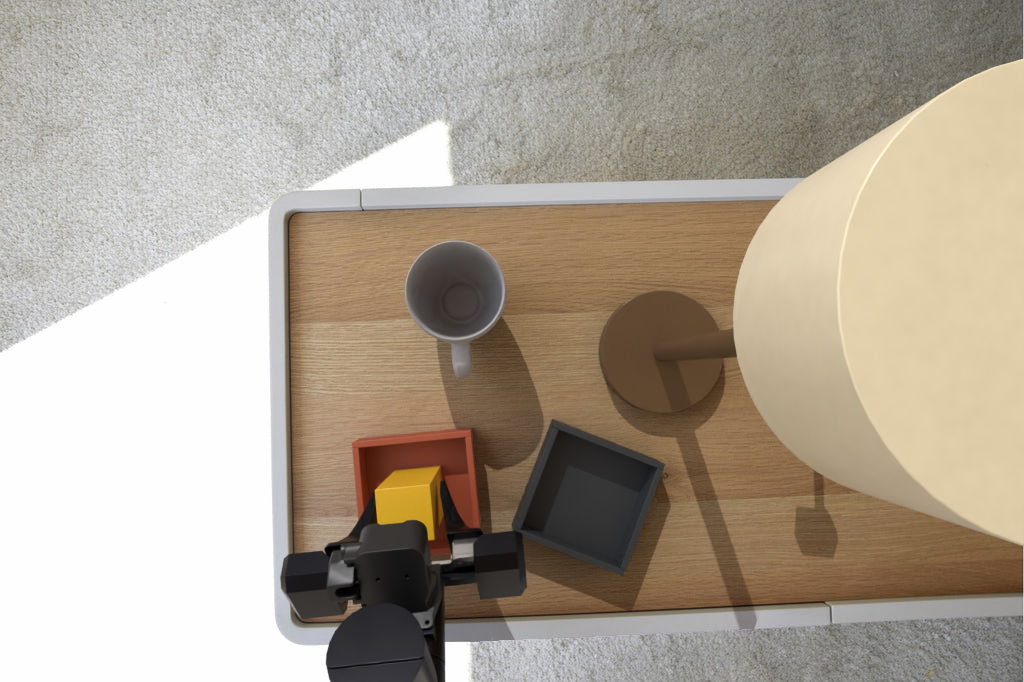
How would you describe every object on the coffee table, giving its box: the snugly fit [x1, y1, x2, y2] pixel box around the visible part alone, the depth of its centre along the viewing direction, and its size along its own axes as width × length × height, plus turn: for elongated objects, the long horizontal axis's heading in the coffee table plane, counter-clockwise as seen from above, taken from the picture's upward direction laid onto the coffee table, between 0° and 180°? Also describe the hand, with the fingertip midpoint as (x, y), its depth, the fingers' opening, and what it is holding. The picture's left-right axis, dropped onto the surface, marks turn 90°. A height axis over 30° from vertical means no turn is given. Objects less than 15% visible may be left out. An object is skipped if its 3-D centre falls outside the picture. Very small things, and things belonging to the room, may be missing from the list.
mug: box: [404, 240, 508, 379], centre depth 61 cm, size 12×9×10 cm
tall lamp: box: [598, 58, 1024, 547], centre depth 42 cm, size 14×14×48 cm
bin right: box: [511, 418, 666, 577], centre depth 63 cm, size 11×11×4 cm
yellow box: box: [375, 465, 444, 541], centre depth 59 cm, size 4×4×11 cm
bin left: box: [351, 426, 483, 557], centre depth 63 cm, size 11×11×4 cm
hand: (411, 486), depth 58 cm, fingers open, 5 cm apart
